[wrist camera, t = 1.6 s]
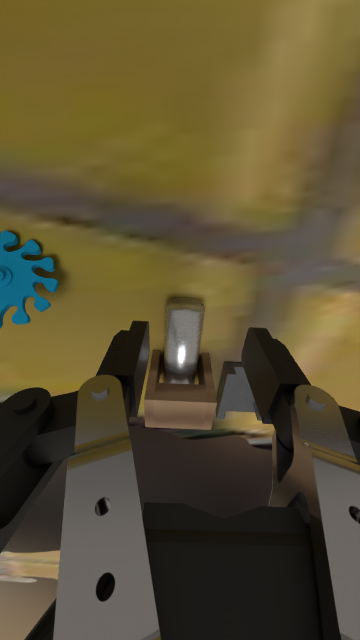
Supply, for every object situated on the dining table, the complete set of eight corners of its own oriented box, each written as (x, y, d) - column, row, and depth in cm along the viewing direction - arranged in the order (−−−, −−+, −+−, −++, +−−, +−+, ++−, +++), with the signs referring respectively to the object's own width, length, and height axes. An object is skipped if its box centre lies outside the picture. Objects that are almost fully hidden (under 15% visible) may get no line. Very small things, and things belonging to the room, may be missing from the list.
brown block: (153, 350, 31) (144, 399, 23) (208, 352, 31) (217, 403, 24) (153, 375, 33) (145, 426, 26) (204, 377, 33) (210, 429, 26)
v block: (224, 361, 32) (227, 374, 30) (277, 364, 32) (284, 376, 30) (214, 405, 37) (216, 418, 35) (260, 407, 37) (264, 420, 35)
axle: (167, 295, 27) (164, 313, 23) (203, 297, 27) (206, 316, 23) (164, 393, 36) (161, 418, 32) (190, 395, 36) (191, 419, 32)
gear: (77, 269, 23) (6, 348, 20) (82, 286, 28) (27, 350, 25) (-23, 200, 21) (-121, 274, 18) (3, 233, 26) (-68, 294, 23)
